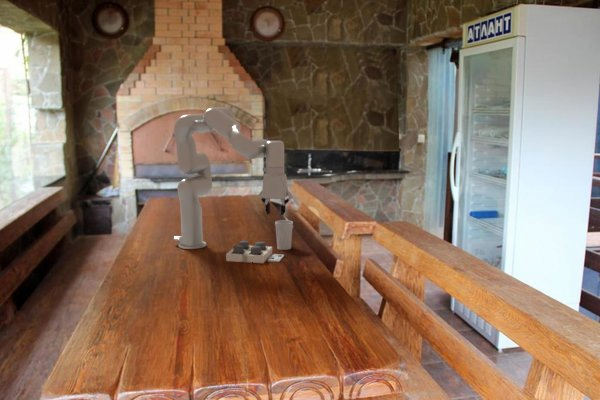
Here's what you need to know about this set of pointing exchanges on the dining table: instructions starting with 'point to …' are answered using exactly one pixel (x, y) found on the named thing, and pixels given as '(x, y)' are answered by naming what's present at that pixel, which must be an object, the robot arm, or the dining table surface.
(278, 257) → the card
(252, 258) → the board
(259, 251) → the button camera
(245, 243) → the button
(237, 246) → the camera button
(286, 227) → the cup
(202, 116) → the robot arm
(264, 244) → the button
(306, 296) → the dining table surface
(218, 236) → the dining table surface
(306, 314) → the dining table surface
